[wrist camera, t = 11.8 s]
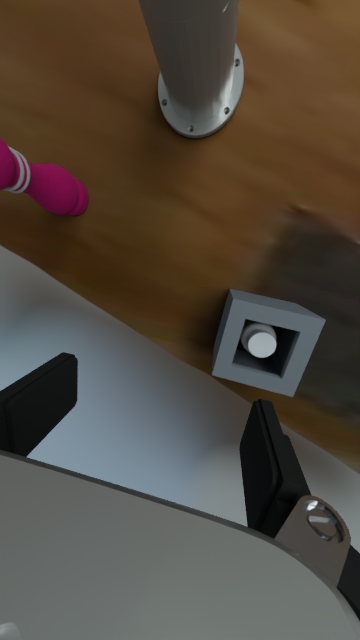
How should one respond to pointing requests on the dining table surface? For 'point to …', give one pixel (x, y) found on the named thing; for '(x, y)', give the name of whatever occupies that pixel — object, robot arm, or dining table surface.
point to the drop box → (290, 347)
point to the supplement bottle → (258, 338)
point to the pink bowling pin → (42, 183)
